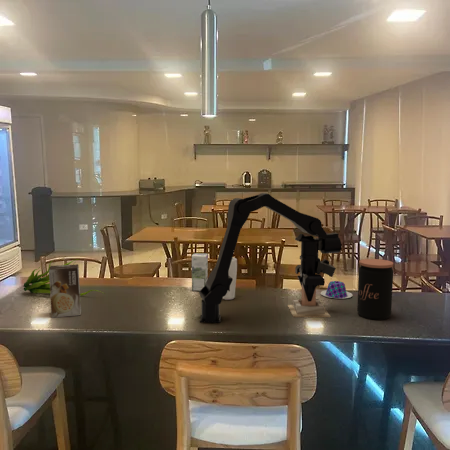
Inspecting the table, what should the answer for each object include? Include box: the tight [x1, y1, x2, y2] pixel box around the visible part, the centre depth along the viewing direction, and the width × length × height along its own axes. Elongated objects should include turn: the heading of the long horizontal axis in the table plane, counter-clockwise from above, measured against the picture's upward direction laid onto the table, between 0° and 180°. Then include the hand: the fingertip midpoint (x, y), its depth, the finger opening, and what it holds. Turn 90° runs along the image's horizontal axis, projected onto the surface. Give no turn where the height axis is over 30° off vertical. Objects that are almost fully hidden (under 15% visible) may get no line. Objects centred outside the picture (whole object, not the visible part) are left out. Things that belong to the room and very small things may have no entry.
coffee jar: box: [356, 258, 394, 321], centre depth 143 cm, size 11×11×18 cm
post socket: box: [287, 298, 331, 318], centre depth 148 cm, size 12×12×3 cm
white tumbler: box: [222, 257, 238, 301], centre depth 162 cm, size 7×7×15 cm
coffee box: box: [48, 264, 82, 319], centre depth 144 cm, size 9×6×16 cm
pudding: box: [320, 280, 354, 299], centre depth 168 cm, size 12×12×5 cm
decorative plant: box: [22, 258, 106, 297], centre depth 165 cm, size 18×30×15 cm, turn 49°
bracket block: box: [300, 285, 317, 306], centre depth 147 cm, size 4×4×8 cm
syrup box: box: [191, 252, 209, 292], centre depth 174 cm, size 6×6×14 cm
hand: (308, 299), depth 147 cm, fingers closed on bracket block, 4 cm apart
